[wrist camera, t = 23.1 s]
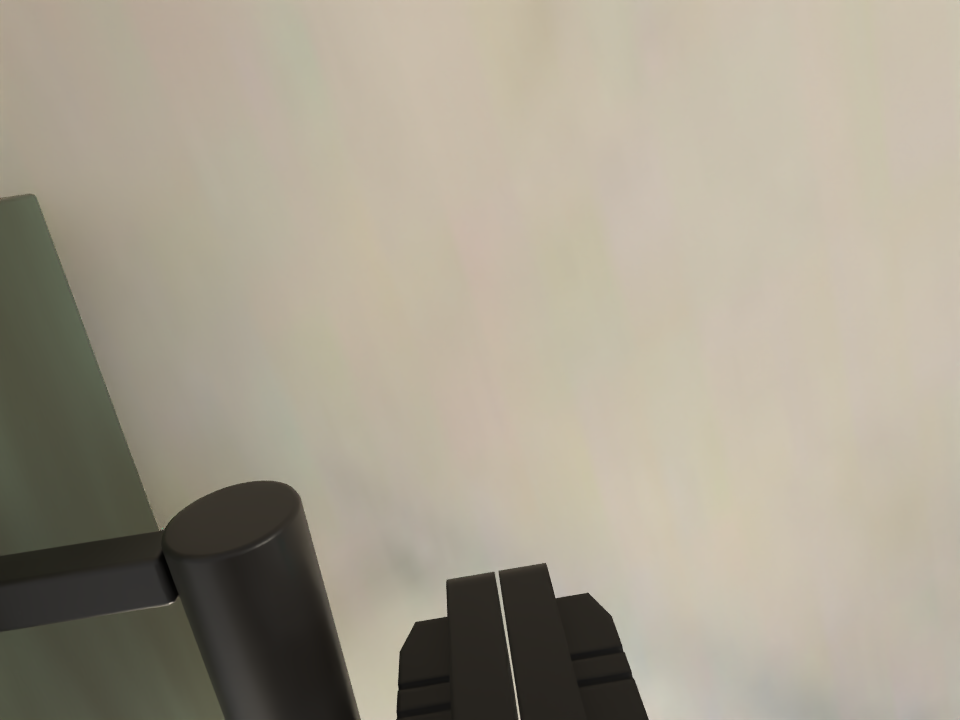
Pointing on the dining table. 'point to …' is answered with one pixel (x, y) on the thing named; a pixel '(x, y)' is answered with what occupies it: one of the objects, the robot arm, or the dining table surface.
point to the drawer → (135, 547)
